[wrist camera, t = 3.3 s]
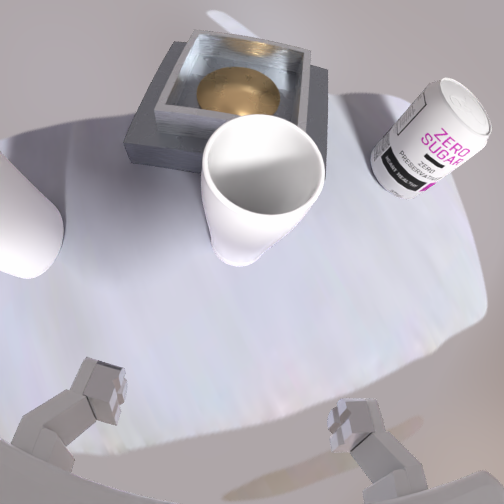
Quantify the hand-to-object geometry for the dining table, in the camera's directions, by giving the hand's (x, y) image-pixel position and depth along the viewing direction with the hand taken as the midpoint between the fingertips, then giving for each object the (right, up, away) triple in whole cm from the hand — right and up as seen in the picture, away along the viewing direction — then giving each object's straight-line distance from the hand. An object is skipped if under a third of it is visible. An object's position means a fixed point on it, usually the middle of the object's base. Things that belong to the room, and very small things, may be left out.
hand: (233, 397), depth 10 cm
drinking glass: (-1, +6, +20) cm, 21 cm away
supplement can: (+19, +15, +25) cm, 35 cm away
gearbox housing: (-1, +21, +23) cm, 32 cm away
